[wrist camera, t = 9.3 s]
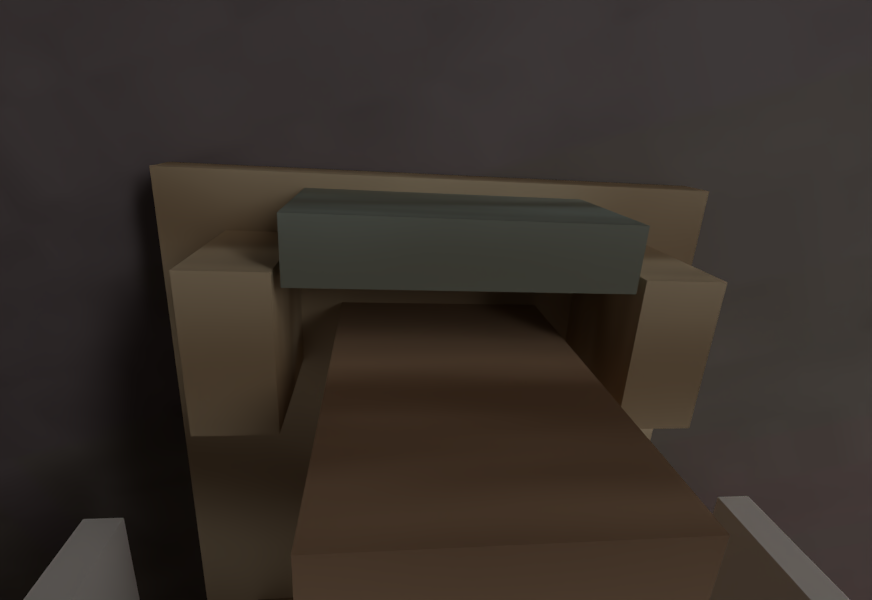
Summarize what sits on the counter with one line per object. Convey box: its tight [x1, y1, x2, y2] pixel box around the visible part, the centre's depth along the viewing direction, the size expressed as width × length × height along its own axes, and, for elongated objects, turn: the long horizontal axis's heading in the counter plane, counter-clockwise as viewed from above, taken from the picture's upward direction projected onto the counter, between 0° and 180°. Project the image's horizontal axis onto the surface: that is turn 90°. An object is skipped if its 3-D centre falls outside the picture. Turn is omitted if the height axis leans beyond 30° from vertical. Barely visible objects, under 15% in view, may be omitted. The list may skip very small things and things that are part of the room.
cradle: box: [149, 162, 727, 600], centre depth 12 cm, size 16×12×4 cm
